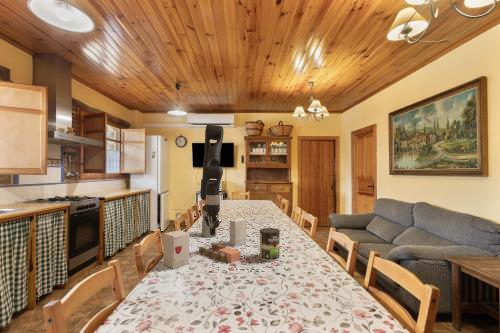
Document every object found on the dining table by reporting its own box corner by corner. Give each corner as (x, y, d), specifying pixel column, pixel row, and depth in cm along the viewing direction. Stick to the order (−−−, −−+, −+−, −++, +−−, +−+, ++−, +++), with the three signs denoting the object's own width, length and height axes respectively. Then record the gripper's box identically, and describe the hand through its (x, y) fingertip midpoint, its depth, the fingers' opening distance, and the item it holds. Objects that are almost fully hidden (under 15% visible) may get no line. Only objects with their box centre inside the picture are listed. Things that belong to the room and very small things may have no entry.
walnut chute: (198, 252, 140) (198, 245, 140) (214, 248, 147) (214, 241, 147) (222, 262, 126) (222, 254, 126) (238, 257, 133) (238, 249, 133)
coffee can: (283, 259, 130) (283, 231, 130) (266, 262, 126) (266, 233, 126) (272, 253, 140) (272, 227, 140) (255, 256, 135) (256, 229, 135)
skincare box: (240, 241, 160) (240, 217, 160) (246, 244, 155) (246, 219, 155) (229, 244, 155) (229, 219, 155) (235, 247, 150) (235, 221, 150)
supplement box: (173, 269, 117) (173, 236, 117) (162, 264, 123) (162, 233, 123) (190, 264, 124) (190, 232, 124) (179, 259, 130) (179, 229, 130)
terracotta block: (218, 257, 132) (218, 249, 132) (227, 254, 136) (227, 247, 136) (231, 262, 125) (231, 254, 125) (240, 259, 129) (240, 251, 129)
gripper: (199, 202, 141) (199, 233, 142) (214, 205, 132) (214, 239, 132) (211, 200, 146) (210, 231, 147) (226, 203, 137) (225, 236, 138)
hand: (212, 235), depth 140 cm, fingers closed
